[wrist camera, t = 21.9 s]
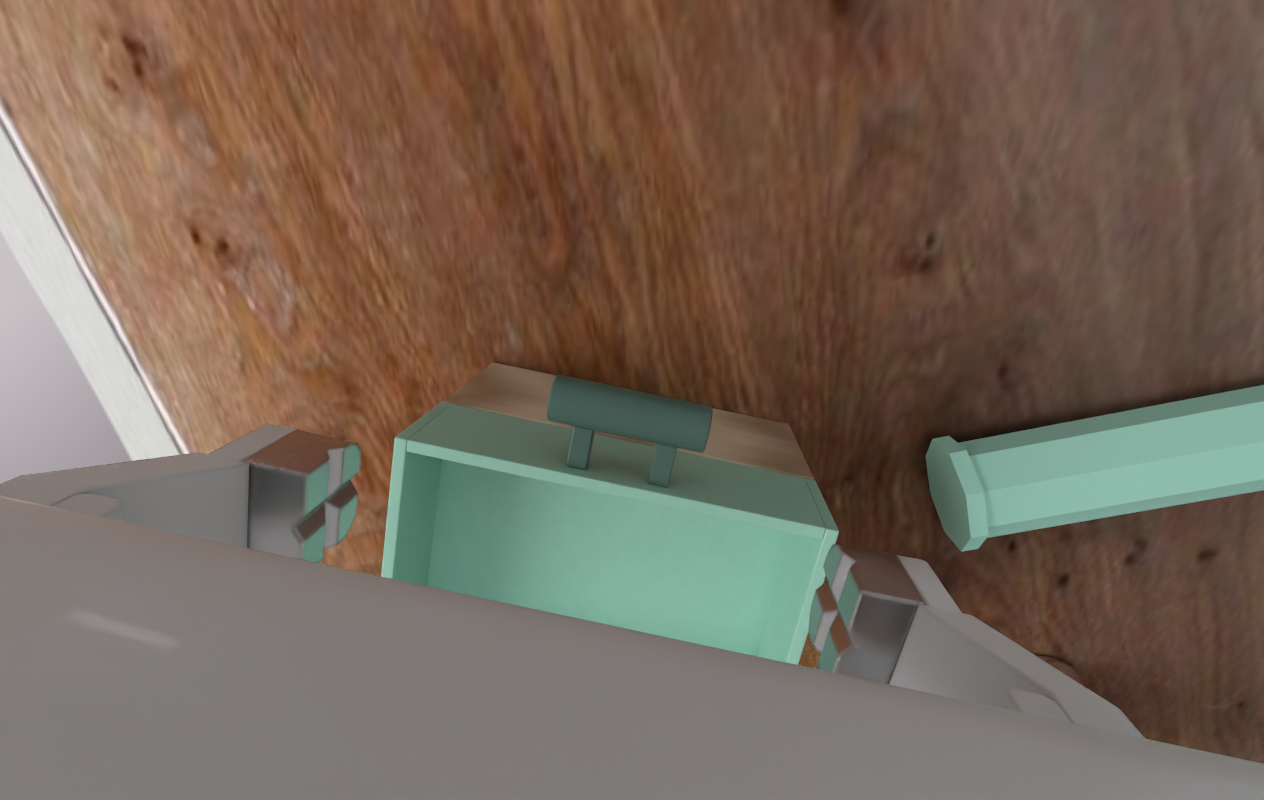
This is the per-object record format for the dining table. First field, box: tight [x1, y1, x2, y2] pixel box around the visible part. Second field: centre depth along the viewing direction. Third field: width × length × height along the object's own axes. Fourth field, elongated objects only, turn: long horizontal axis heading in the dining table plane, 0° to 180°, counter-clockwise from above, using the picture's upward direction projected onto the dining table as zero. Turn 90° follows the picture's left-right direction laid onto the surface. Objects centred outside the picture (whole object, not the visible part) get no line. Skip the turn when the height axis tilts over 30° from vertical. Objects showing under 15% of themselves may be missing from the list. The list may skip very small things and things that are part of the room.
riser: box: [443, 362, 814, 480], centre depth 35 cm, size 17×11×8 cm, turn 79°
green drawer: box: [381, 374, 839, 665], centre depth 29 cm, size 17×14×5 cm
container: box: [925, 385, 1264, 552], centre depth 33 cm, size 6×6×25 cm
